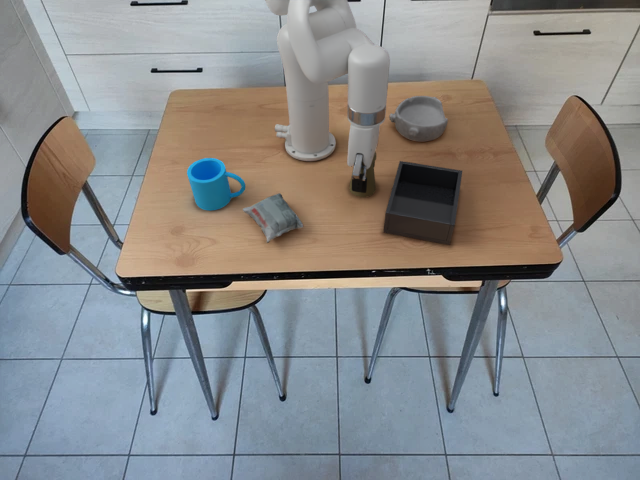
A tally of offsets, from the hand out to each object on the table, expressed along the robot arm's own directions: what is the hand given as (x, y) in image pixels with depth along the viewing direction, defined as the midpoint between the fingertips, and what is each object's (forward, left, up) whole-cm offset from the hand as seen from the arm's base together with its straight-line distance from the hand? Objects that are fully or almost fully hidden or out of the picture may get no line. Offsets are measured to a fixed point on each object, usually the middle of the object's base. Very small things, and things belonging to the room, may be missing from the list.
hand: (363, 178), depth 109 cm
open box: (+14, -4, -3) cm, 15 cm away
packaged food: (-16, -16, -3) cm, 23 cm away
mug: (-30, -11, -3) cm, 32 cm away
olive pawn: (0, 0, -3) cm, 3 cm away
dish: (+9, +26, -3) cm, 28 cm away
